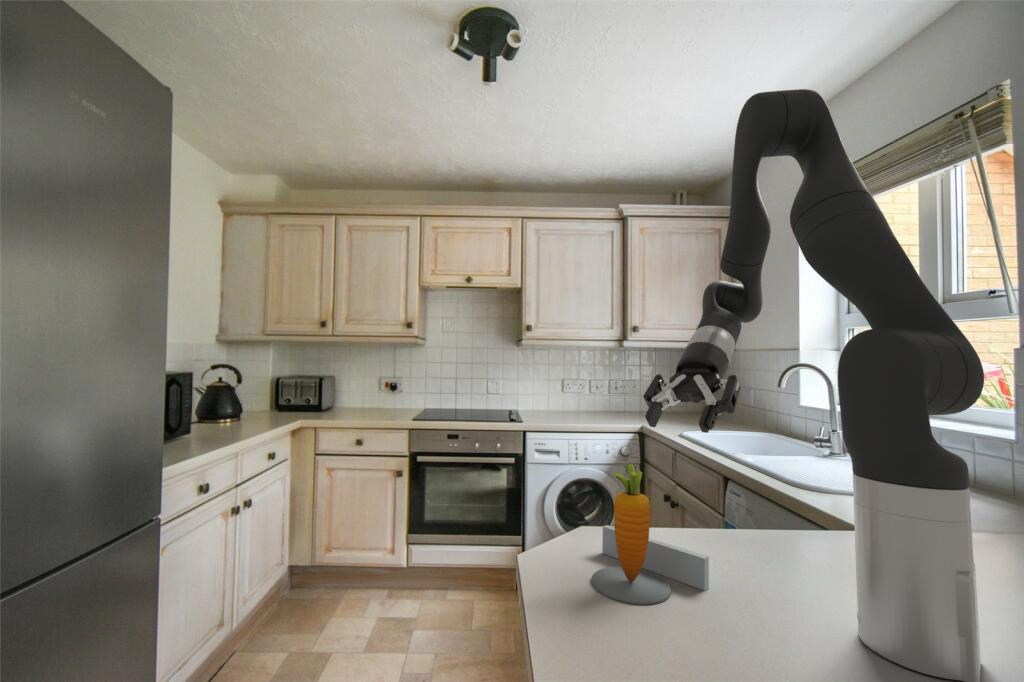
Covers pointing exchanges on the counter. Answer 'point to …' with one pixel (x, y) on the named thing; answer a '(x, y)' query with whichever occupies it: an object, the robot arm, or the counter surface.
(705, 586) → the low wall
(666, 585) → the rest mat
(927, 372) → the robot arm
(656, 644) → the counter surface
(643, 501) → the carrot
